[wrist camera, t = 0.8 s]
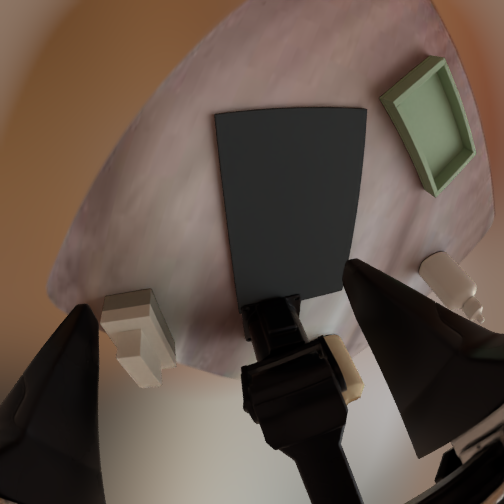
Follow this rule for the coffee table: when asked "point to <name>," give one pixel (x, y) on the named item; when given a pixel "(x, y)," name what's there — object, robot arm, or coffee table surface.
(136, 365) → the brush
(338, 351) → the candle
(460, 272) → the eye dropper bottle
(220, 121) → the mat
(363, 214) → the coffee table surface
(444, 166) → the tray
